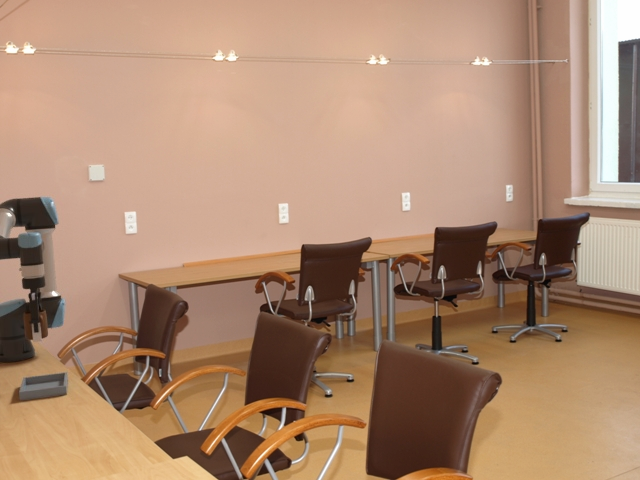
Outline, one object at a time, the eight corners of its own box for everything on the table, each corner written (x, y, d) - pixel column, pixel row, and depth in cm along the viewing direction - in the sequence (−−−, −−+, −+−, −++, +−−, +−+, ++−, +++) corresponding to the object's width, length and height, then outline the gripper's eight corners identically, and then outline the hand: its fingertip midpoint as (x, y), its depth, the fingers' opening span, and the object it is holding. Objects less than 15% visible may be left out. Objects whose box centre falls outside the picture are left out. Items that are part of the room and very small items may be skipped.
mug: (54, 339, 250) (52, 313, 250) (32, 343, 246) (29, 316, 245) (45, 334, 260) (42, 308, 259) (23, 338, 256) (20, 312, 255)
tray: (24, 385, 255) (23, 377, 255) (67, 380, 260) (67, 372, 259) (19, 400, 239) (19, 392, 239) (66, 394, 244) (65, 386, 243)
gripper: (24, 273, 261) (30, 332, 263) (18, 282, 239) (24, 346, 241) (46, 271, 263) (51, 329, 266) (42, 280, 241) (48, 343, 243)
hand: (38, 337), depth 253 cm, fingers closed on mug, 11 cm apart
